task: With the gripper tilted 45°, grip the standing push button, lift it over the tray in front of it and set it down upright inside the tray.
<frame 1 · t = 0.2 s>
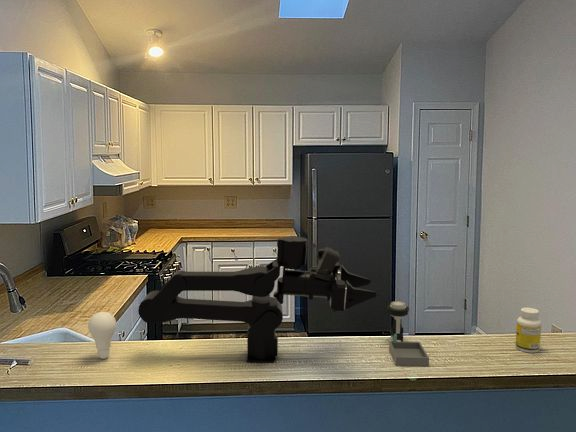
hand: (373, 287, 123), 17 cm above the counter, tool horizontal, fingers open, 9 cm apart
tray: (408, 357, 125), on the counter
lightbulb: (103, 359, 124), on the counter
supplement bottle: (527, 349, 131), on the counter
push button: (397, 344, 134), on the counter
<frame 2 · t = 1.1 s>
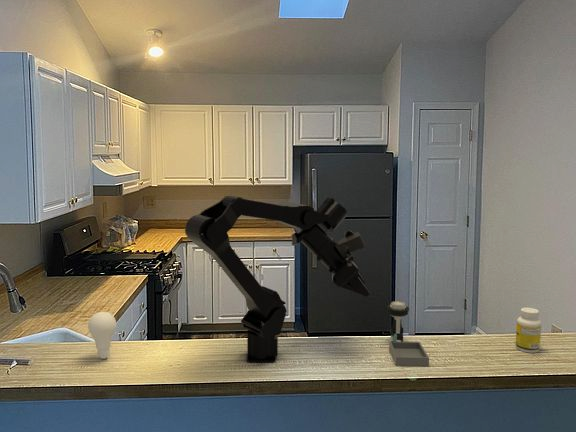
hand: (366, 289, 132), 14 cm above the counter, tool tilted 45°, fingers open, 9 cm apart
nothing on the counter moved.
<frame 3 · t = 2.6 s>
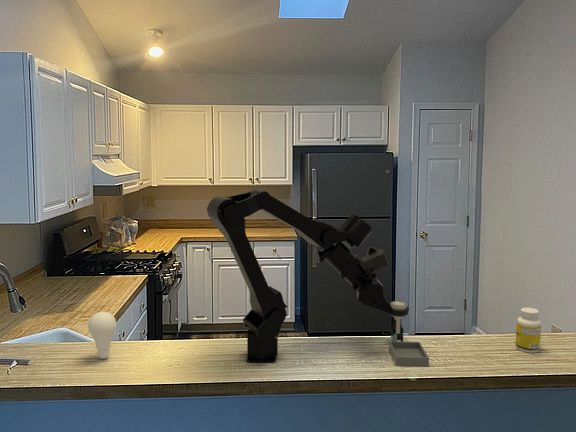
hand: (389, 306, 133), 9 cm above the counter, tool tilted 45°, fingers open, 9 cm apart
nothing on the counter moved.
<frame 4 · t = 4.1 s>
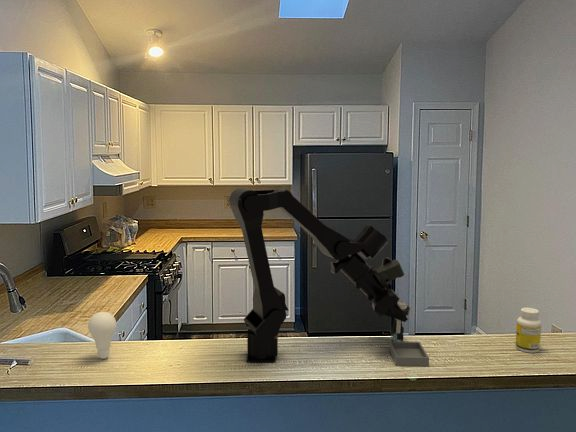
hand: (404, 316, 133), 7 cm above the counter, tool tilted 45°, fingers closed on push button, 5 cm apart
push button: (397, 343, 134), on the counter, touching gripper
everything else where it was.
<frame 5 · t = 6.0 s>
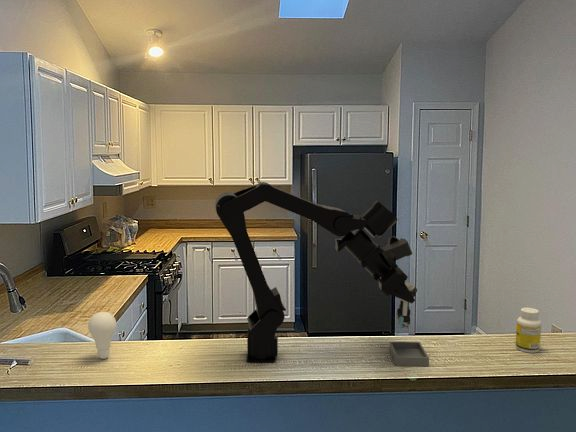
hand: (410, 298, 127), 13 cm above the counter, tool tilted 45°, fingers closed on push button, 5 cm apart
push button: (403, 326, 128), point 6 cm above the counter, touching gripper
everything else where it was.
when the fingers open (8 cm above the counter, at t = 8.0 s): push button stays where it is, resting on tray.
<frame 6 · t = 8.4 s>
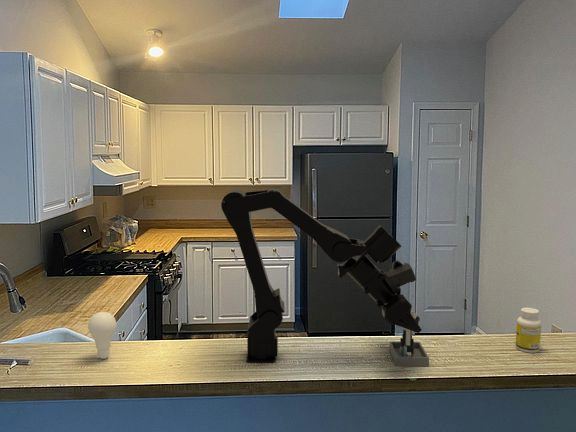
hand: (415, 324, 124), 8 cm above the counter, tool tilted 45°, fingers open, 9 cm apart
push button: (406, 356, 125), resting on tray
everything else where it was.
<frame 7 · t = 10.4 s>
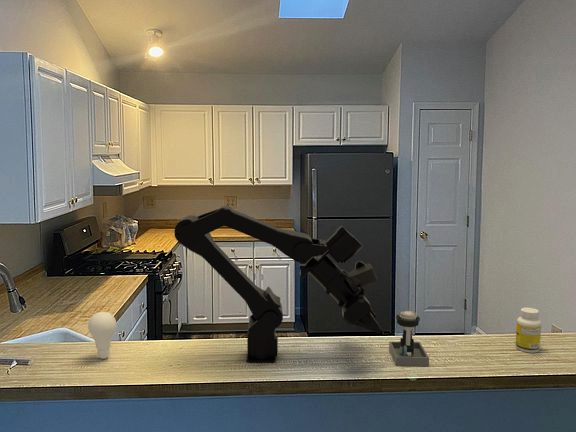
hand: (377, 324, 124), 8 cm above the counter, tool tilted 45°, fingers open, 9 cm apart
nothing on the counter moved.
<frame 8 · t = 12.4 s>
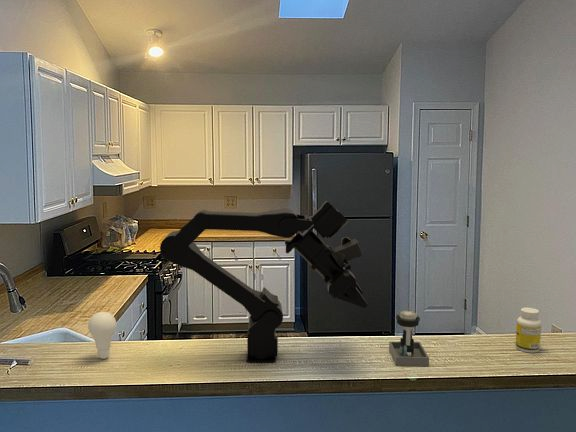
hand: (364, 300, 124), 14 cm above the counter, tool tilted 45°, fingers open, 9 cm apart
nothing on the counter moved.
at the end: push button 0.3 cm off-centre on the tray, point 0.3 cm above the tray's base; push button tilted 0°; the gripper is holding nothing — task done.
